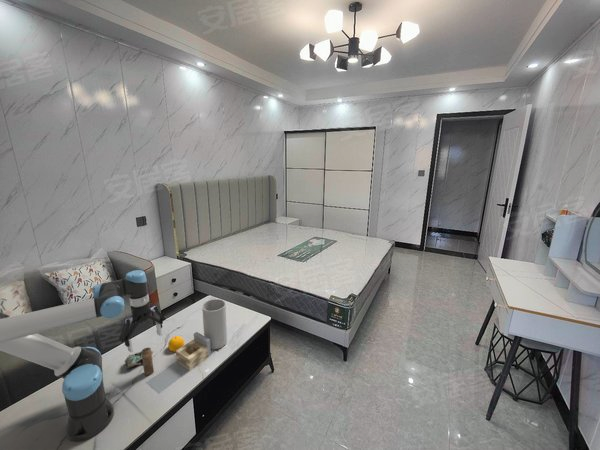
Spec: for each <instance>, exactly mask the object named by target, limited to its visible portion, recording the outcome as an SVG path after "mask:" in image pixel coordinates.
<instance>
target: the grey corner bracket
mask: <svg viewBox="0 0 600 450" xmlns="http://www.w3.org/2000/svg"><path fill="white" fill-rule="evenodd" d="M194 339H195V340H196V341H198V342H200V343H201V344H203V345H205V346H206V347H207V351H208V358H209V357H210V356H212V351H211V350H212V349H211V348H210V339H208V338H207V337H205V336H204V334H202V333H199V332H198V331H196V332H194V333H193V340H194ZM196 367H197V366H195V367H194V368H196ZM191 370H193V369H191ZM191 370H188V369H187V368H186V367H184V366H183V365H181V364H180V363H179V362H177V361H175V362H174V363H172V364H171V365H169V366H168V367H166V368H165V369H164V370H162V371H160V372H159V373H158V374H156V375H154V376H153V377H152V378H150V379H148V380H147V381H145V383H146V384H147V385H148V386H149V387H151V389H153V390H154V391H155V392H156V393H157V394H160V393H162V392H164V391H165V390H166V389H167V388H169V387H170V386H171V385H173V384H174V383H176V382H177V381H178V380H179V379H181V378H182V377H183V376H185V375H186V374H187V373H189V372H190V371H191Z"/></svg>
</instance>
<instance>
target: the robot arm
mask: <svg viewBox="0 0 600 450" xmlns="http://www.w3.org/2000/svg"><path fill="white" fill-rule="evenodd" d="M92 293H93V294H92V296H93V298H88V299H84V300H80V301H75V302H71V303H67V304H60V305H57V306H56V305H55V306H53V307H48V308H43V309H39V310H35V311H30V312H27V313H25V312H24V313H21V314H18V315H12V316H10V315H8V314H6V313H4V312H2V311H0V352H4V353H7V354H8V355H11V356H14V357H18V358H19V359H23V360H25V361H27V362H28V361H29V362H31V363H34V364H36V365H40V366H42V367H44V368H48V369H50V370H53V371H54V376H56V377H58V378H61V379H62V380H63V381H62V385H61V387H62V388H61V389H62V390H61V393H62V394H63V396H64V399H65V404H66V410H67V413H68V417H67V418H68V419H67V423H66V427H65V433H66V437H67V438H68V440H70V441H72V442H82V441H86V440H89V439H90V438H93V437H95V436H97V435H98V434H99V433H101V432H102V431H104V429H106V428H107V427H108V426H109V424H110V423H111V422H112V420H113V418H114V416H115V409H114V408H115V407H114V405H113V404H112V403H111V401H110V400H109V399H108V398H107V396H106V392H105V391H106V390H105V386H104V385H105V384H104V377H103V358H102V354H101V352H100V350H98V349H97V348H96V347H94V346H93V347H92V346H85V347H81V346H75V347H70V346H68V345H66V344H63V343H61V342H58V341H56V340H54V339H52V338H49V337H46V336H44V335H42V334H40V333H43V332H48V331H52V330H57V329H58V328H62V327H66V326H69V325H74V324H78V323H82V322H85V321H88V320H92V319H96V318H101V317H103V318H104V319H115V318H118V317H119V316H121V315H122V313H124V311H125V300H124V297H126V296H128V300H129V305H130V310H131V311H130V312H131V317H129V318H127V317H126V318H124V319H123V321H124V322H123V323H124V324H123V327H122V330H121V332H120V335H119V338H118V340H119V341H120V342H121V343H124V346H126V348H127V350H128V352H130V353H133V352H134V350H133V344H132V339H131V337H132V335H133V334H134V332H135V330H136V328H137V327H138V326H139V324H142V323H144V322H147V321H148V320H149V319H150V320H152V321H155V327H156V334H157V335H158V336H160V337H161V336H162V328H163V324H164V321H166V317H165V316H164V315H163V314H162V313H161V312H160V311H159V309H158V307H157V306H155V305H152V306H151V304H150V297H149V290H148V279H147V275H146V272H145V271H143V270H141V269H137V270H132V271H128V272H127V273H126V274H125V277H124V278H121V279H117V280H112V281H107V282H102V283H99V284H95V285H93V286H92ZM152 312H154V314H155V315H157V317H159V318H157V317H155V316H153V315H151V314H152Z"/></svg>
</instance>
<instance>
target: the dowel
mask: <svg viewBox="0 0 600 450" xmlns="http://www.w3.org/2000/svg"><path fill="white" fill-rule="evenodd" d="M151 351H152V349H151V347H144V348H142V350H141V351H140V352H141V354H142V360H143V364H142V365H143V367H142V368H143V373H144V376H147V377H149V376H151V375H153V374H154V369H155V368H154V363H153V356H152V355H153V354H151Z"/></svg>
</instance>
